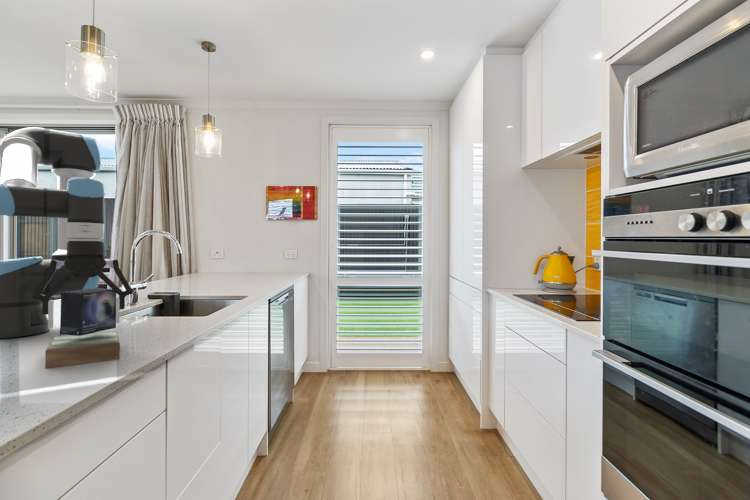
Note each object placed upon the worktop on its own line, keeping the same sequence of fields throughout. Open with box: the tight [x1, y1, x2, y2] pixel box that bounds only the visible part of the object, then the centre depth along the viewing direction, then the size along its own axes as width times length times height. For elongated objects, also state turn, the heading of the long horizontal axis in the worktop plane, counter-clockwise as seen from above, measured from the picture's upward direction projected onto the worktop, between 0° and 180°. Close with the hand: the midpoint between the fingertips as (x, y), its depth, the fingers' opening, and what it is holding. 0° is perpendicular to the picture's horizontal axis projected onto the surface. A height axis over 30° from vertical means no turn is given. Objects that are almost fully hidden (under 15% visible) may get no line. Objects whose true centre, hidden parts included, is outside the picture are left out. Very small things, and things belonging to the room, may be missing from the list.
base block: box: [44, 330, 121, 369], centre depth 99 cm, size 16×14×4 cm
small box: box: [59, 287, 117, 336], centre depth 99 cm, size 11×6×10 cm, turn 169°
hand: (85, 324), depth 99 cm, fingers open, 13 cm apart
